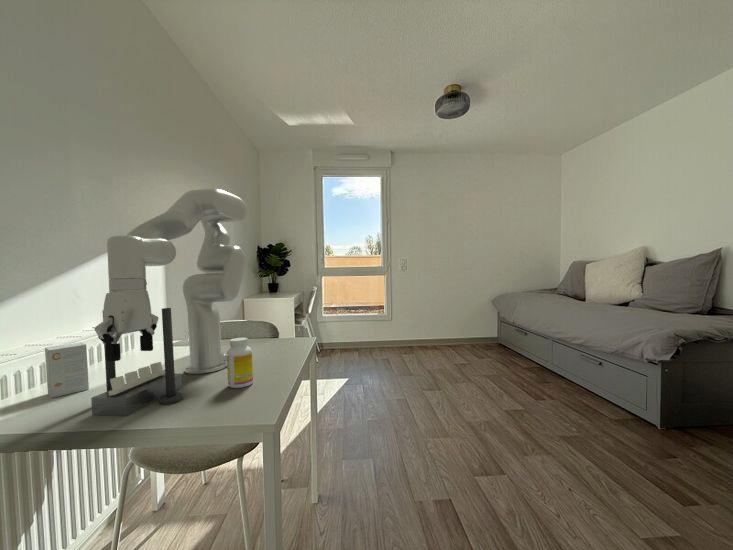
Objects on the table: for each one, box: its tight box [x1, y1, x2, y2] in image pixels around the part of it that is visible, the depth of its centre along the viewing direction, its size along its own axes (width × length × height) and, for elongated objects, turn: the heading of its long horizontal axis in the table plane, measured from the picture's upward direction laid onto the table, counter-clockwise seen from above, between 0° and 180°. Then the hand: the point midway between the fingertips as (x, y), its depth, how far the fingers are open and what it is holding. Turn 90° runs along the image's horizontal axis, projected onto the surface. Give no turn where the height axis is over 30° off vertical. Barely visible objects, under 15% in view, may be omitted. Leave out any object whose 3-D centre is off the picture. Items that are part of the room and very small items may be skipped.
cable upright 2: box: [159, 307, 184, 406], centre depth 84 cm, size 5×5×23 cm
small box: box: [44, 341, 90, 399], centre depth 94 cm, size 8×6×13 cm
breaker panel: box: [90, 373, 183, 417], centre depth 85 cm, size 18×9×4 cm, turn 171°
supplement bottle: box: [226, 337, 254, 389], centre depth 94 cm, size 7×7×13 cm
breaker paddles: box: [109, 361, 165, 396], centre depth 85 cm, size 16×2×4 cm, turn 171°
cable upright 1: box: [102, 310, 117, 392], centre depth 87 cm, size 5×5×23 cm
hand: (131, 355), depth 83 cm, fingers open, 9 cm apart
